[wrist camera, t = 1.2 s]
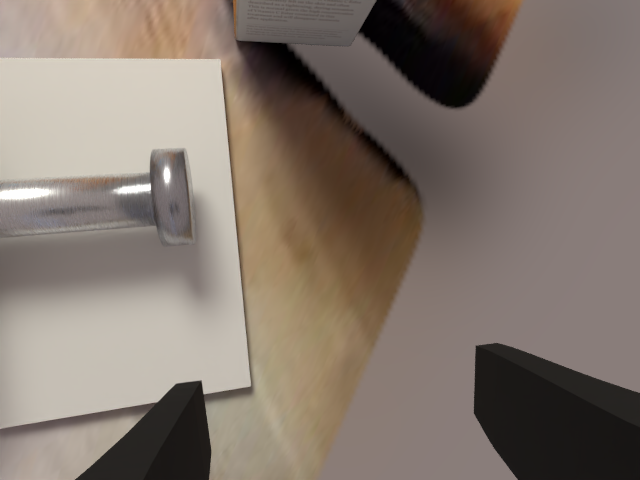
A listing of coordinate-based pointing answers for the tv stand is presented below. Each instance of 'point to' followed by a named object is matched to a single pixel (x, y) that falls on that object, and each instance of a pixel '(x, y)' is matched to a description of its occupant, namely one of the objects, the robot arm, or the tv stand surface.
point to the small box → (300, 21)
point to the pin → (105, 201)
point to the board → (116, 242)
